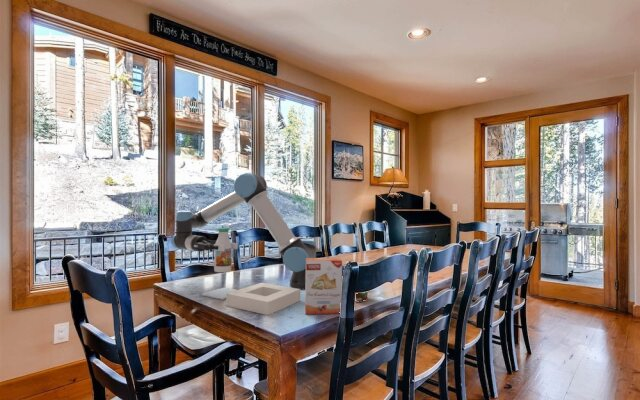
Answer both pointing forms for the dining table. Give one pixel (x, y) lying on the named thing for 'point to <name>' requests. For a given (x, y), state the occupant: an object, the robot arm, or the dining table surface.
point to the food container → (361, 296)
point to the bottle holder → (263, 298)
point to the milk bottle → (223, 252)
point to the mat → (218, 293)
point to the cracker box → (323, 285)
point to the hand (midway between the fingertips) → (230, 247)
